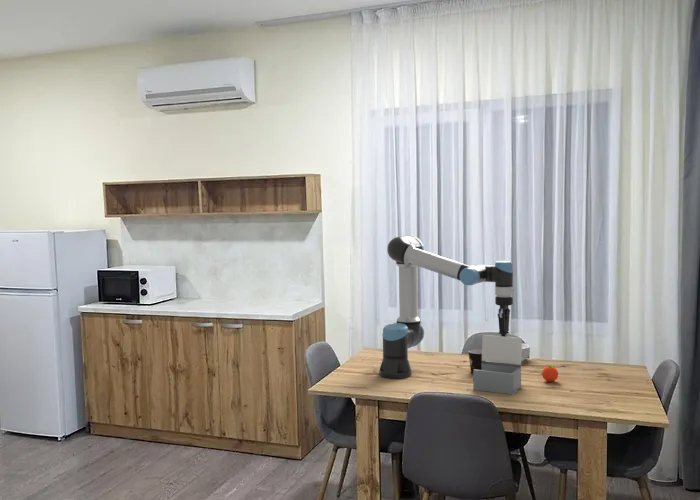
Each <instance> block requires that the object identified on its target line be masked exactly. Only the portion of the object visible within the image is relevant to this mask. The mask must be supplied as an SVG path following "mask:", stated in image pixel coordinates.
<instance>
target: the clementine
mask: <svg viewBox="0 0 700 500" xmlns="http://www.w3.org/2000/svg"><path fill="white" fill-rule="evenodd" d="M541 376H542V378H543V379H544V380H545V381H546V382H549V383H552V382H555V381H556V380H557V379H558V378H559V371H558V369H557V368H556V367H555V366H554V365H547V366H546V367H544V368H543V369H542V371H541Z"/></svg>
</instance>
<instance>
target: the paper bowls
mask: <svg viewBox="0 0 700 500" xmlns="http://www.w3.org/2000/svg"><path fill="white" fill-rule="evenodd" d="M530 355H531V345H529V344H526V343H523V342H522V354H521V363H522V362H524V361H525V360H526V358H527V357H530Z"/></svg>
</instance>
